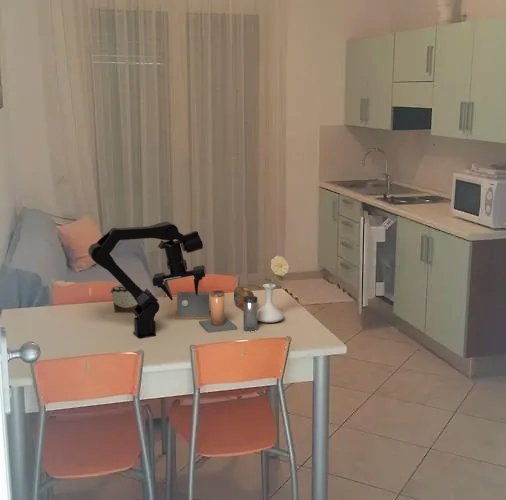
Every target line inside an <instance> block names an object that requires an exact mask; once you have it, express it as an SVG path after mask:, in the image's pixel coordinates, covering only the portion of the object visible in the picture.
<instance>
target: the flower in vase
mask: <svg viewBox="0 0 506 500" xmlns="http://www.w3.org/2000/svg"><path fill="white" fill-rule="evenodd" d="M270 266H271V270H272V272H273V273H274V275H273V277H272V279H269V278H267V277H265V276H264V277H263V278H264V280H265V281H268V282H270V283H265V284H262V287H263V288H264V291H265V303H264V305H263V306H262V307H261V308H259V309H257V322H258V321H259V322H262V323H277V322H280V321H283V319H284V318H285V315H284V313H283V312H282V311H281V310H280V309H278V308H277V307H276V306H275V304H273V293H274V290H275V288H276V286H277V285H276V283H275V284H274V283H273V281H274V280H276V281H277V282H282V281H284V280H285V279H286V278H285V277H284V276H285V274H288V273H289V269H290V268H289V267H290V266H289V263H288V260H287V259H285V257H284V256H282V255H276V256H274V258H272V259H271V261H270Z"/></svg>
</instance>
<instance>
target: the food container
mask: <svg viewBox="0 0 506 500" xmlns="http://www.w3.org/2000/svg"><path fill="white" fill-rule="evenodd" d="M137 286H138V287H139V288H140V289H141V287H140V286H139V285H137ZM109 293H110V294H111V295H112V296H111V297H112V302H113V303H112V304H113V310H114V313H115V314H131V315H132V314H134V312H133V310H134V308H135V307H136V306H137V305H138V303H137V302H136V300H135V299H134V297H133V296H132V294H131V293H130V292H129V291H128V290H127V289H126V288H125V287H124V286H123V285H122V284H120V285H119V284H118V285H115V286H113V287H111V288H110V292H109ZM134 315H135V314H134Z"/></svg>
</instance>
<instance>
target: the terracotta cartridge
mask: <svg viewBox="0 0 506 500" xmlns="http://www.w3.org/2000/svg"><path fill="white" fill-rule="evenodd" d="M210 311H211V319H210V320H211V325H213V326H222V325H224V324H225V321H224V318H225V291H223V290H218V289H217V290H212V291H210Z"/></svg>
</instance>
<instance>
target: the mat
mask: <svg viewBox="0 0 506 500" xmlns="http://www.w3.org/2000/svg"><path fill="white" fill-rule="evenodd" d="M224 321H225V324H224V325H222V326H213V325H211V319H204V320H199V321H198V324H199V325H200V327H202V328H203V329H204V330H205V331H206V333H208V334H209V333H216V332H217V333H218V332H225V331H234V330H235V331H236V330H238V326H237V325H236V324H235V323H234V322H233V321H231V319H229V318H227V317H224Z"/></svg>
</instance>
